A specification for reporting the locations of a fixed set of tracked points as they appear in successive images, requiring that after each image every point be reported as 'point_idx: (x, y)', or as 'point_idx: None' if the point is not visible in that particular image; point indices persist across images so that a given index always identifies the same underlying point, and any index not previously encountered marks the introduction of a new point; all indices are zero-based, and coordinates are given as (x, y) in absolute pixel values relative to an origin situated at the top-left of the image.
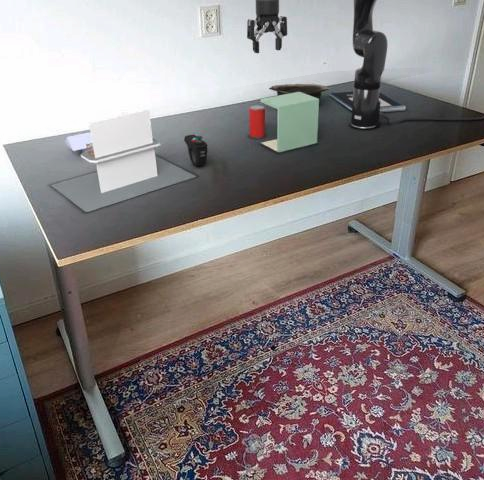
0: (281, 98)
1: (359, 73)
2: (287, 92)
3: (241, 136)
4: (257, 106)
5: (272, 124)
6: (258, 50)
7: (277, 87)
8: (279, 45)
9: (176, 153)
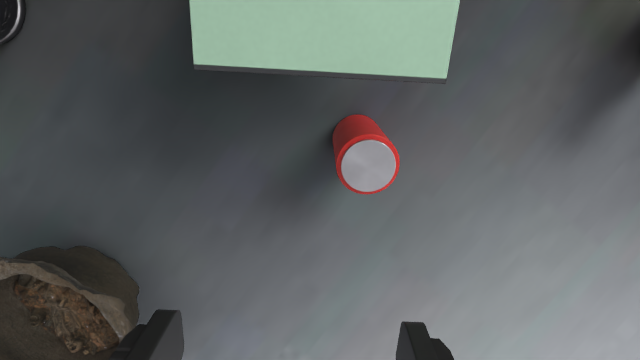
0: (355, 11)
1: None
2: (107, 313)
3: None
4: (360, 173)
5: (251, 200)
6: (417, 335)
7: None
8: (154, 340)
9: (624, 160)
